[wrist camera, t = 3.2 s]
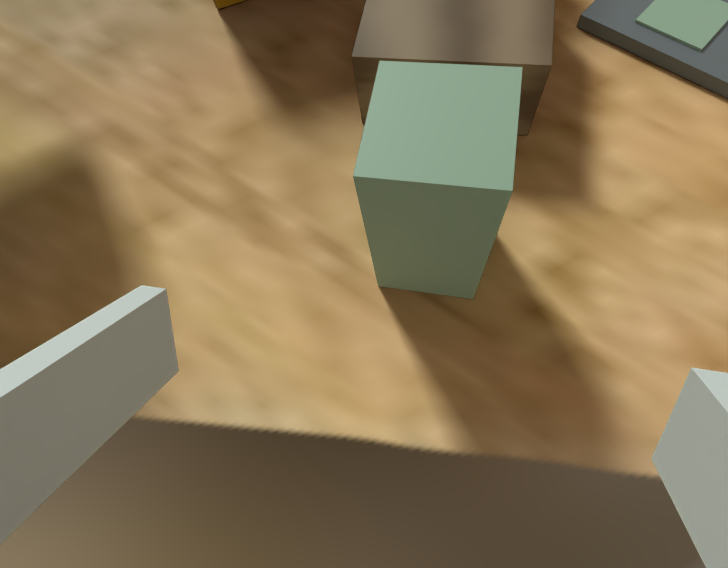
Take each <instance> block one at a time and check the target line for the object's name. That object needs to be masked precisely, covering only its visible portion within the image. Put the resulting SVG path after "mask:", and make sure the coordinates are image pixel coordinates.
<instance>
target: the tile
mask: <svg viewBox="0 0 728 568" xmlns="http://www.w3.org/2000/svg"><path fill="white" fill-rule="evenodd" d="M576 27H579V28H581V29H583V30H585V31H587V32H589V33H591V34H593V35H595V36H597V37H600V38H602V39H604V40H606V41H608V42H610V43H612V44H614V45H616V46H618V47H621V48H623V49H625V50H627V51H629V52H631V53H633V54H635V55H637V56H639V57H641V58H644V59H646V60H648V61H650V62H652V63H654V64H656V65H658V66H660V67H662V68H665V69H667V70H669V71H671V72H673V73H675V74H677V75H679V76H681V77H683V78H685V79H688V80H690V81H692V82H694V83H696V84H698V85H700V86H702V87H704V88H706V89H709V90H711V91H713V92H715V93H717V94H719V95H721V96H723V97H725V98H727V99H728V0H595V1H594V2H593V3H592V4H591V5H590V6H589V7H588V8H587V9H586V10H585V11H584V12H583V13H582V14H581V16H580V18H579V21H578V24H577V26H576Z"/></svg>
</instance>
